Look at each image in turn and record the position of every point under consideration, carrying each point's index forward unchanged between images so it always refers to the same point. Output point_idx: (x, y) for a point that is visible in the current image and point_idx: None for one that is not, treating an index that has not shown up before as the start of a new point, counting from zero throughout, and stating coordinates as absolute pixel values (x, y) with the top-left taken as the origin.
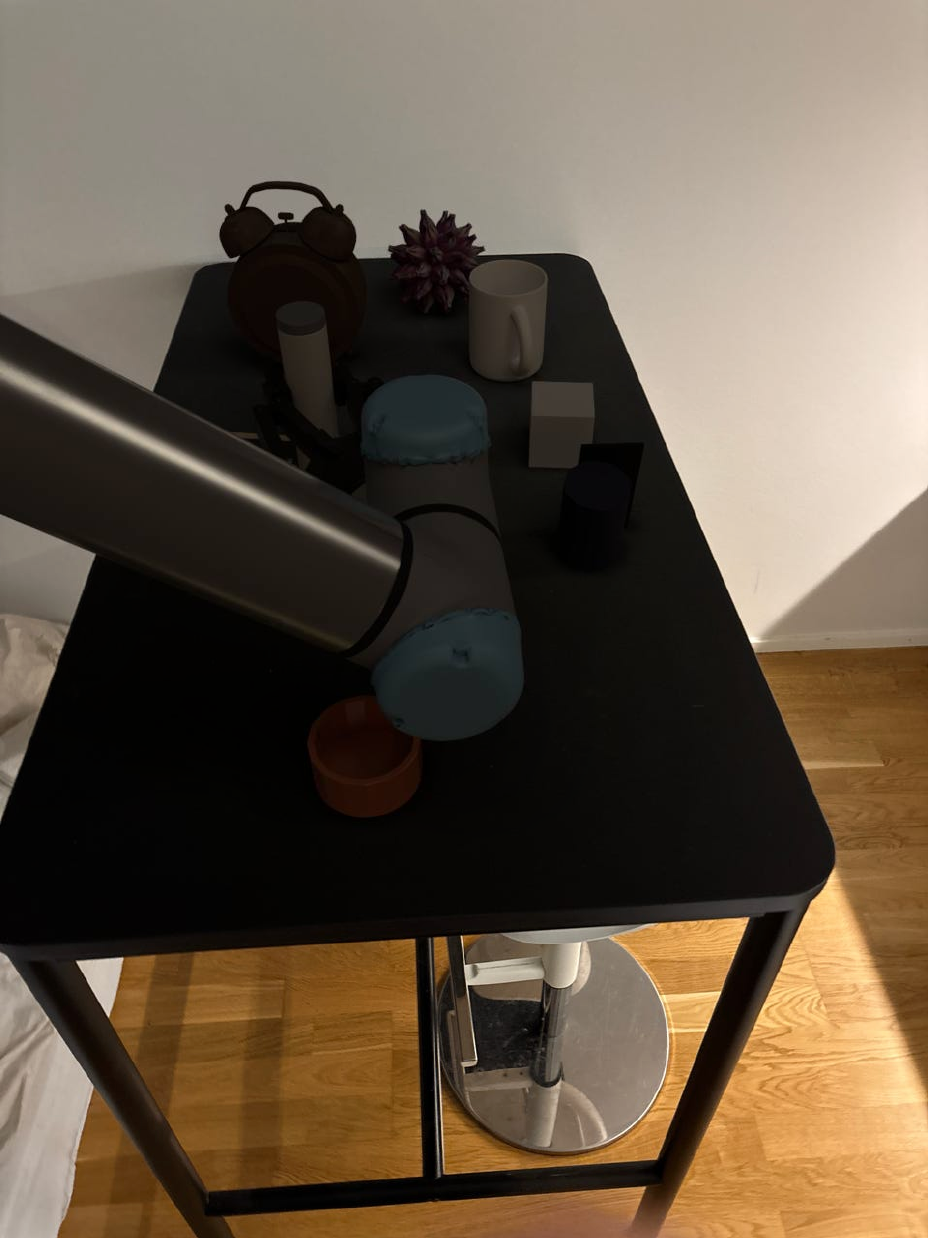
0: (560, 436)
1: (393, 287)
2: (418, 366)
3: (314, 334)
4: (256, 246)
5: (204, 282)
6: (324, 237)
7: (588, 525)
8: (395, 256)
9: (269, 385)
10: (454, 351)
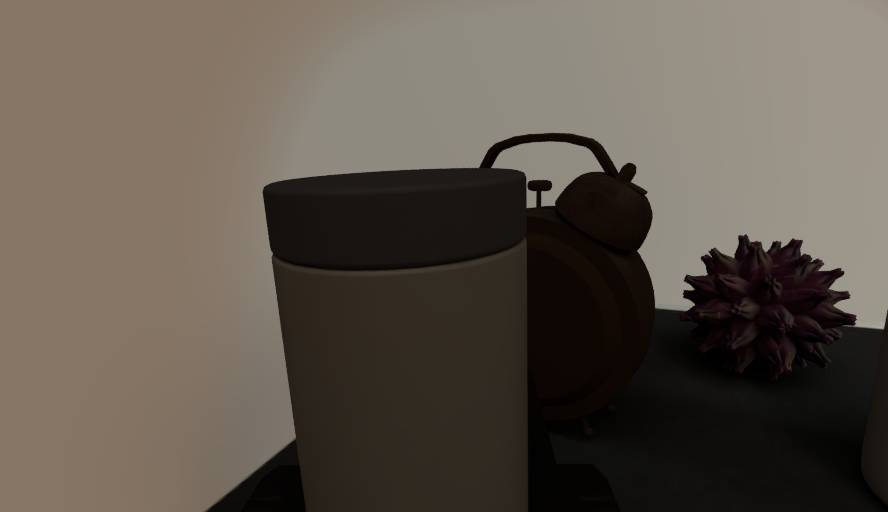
0: None
1: (678, 337)
2: (740, 462)
3: (416, 276)
4: None
5: None
6: (595, 205)
7: None
8: (695, 289)
9: (288, 483)
10: (811, 448)
